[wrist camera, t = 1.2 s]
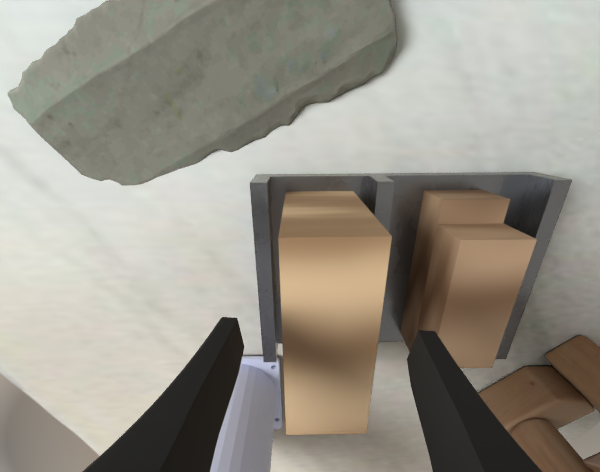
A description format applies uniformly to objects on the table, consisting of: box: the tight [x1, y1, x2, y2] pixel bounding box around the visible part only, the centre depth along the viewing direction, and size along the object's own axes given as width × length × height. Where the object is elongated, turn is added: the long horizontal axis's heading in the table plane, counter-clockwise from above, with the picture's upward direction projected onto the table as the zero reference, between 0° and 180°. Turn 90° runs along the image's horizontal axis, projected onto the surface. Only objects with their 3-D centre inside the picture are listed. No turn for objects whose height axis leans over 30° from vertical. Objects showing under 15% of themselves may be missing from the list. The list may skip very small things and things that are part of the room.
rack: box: [250, 172, 572, 362], centre depth 20 cm, size 14×19×3 cm
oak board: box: [278, 191, 392, 435], centre depth 17 cm, size 12×4×8 cm, turn 0°
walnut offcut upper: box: [416, 223, 537, 368], centre depth 17 cm, size 9×4×2 cm, turn 0°
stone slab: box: [8, 0, 397, 185], centre depth 16 cm, size 22×3×10 cm
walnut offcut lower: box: [400, 190, 510, 351], centre depth 19 cm, size 12×4×2 cm, turn 0°
